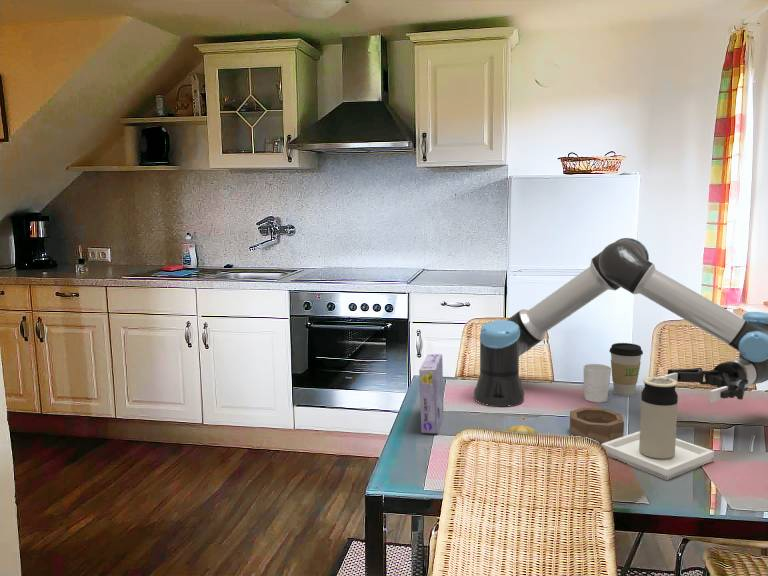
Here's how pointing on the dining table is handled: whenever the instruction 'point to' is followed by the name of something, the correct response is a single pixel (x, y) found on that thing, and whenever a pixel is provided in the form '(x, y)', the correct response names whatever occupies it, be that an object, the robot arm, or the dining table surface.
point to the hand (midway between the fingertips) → (684, 389)
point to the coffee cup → (625, 367)
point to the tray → (667, 468)
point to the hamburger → (522, 428)
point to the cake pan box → (431, 393)
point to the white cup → (596, 382)
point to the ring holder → (596, 424)
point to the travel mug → (658, 417)
